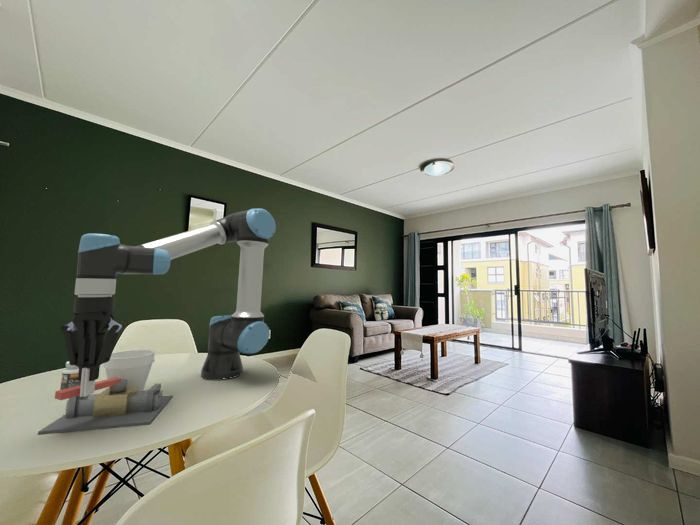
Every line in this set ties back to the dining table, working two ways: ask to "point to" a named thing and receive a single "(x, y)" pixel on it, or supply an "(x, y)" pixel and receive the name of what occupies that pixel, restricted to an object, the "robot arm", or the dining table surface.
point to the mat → (104, 420)
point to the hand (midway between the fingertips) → (87, 394)
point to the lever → (113, 383)
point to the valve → (115, 402)
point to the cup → (130, 366)
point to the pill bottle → (70, 377)
